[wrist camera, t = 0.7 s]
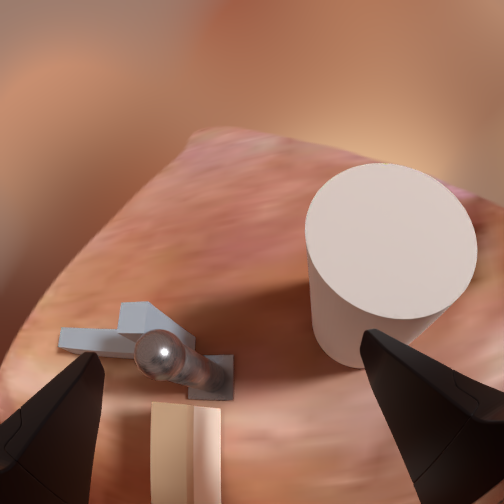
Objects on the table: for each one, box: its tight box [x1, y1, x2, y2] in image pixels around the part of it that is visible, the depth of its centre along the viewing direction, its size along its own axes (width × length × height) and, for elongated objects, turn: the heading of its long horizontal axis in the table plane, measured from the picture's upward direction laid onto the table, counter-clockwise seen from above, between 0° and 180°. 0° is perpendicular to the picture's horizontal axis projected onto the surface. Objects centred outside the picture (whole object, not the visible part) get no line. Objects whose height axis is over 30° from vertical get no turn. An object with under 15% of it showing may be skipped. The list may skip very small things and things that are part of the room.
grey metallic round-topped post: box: [134, 329, 234, 400], centre depth 18 cm, size 4×4×10 cm
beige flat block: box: [150, 401, 221, 504], centre depth 14 cm, size 13×2×7 cm, turn 1°
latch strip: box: [58, 302, 196, 359], centre depth 21 cm, size 2×14×8 cm, turn 91°
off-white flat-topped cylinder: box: [305, 163, 477, 368], centre depth 17 cm, size 8×8×12 cm
